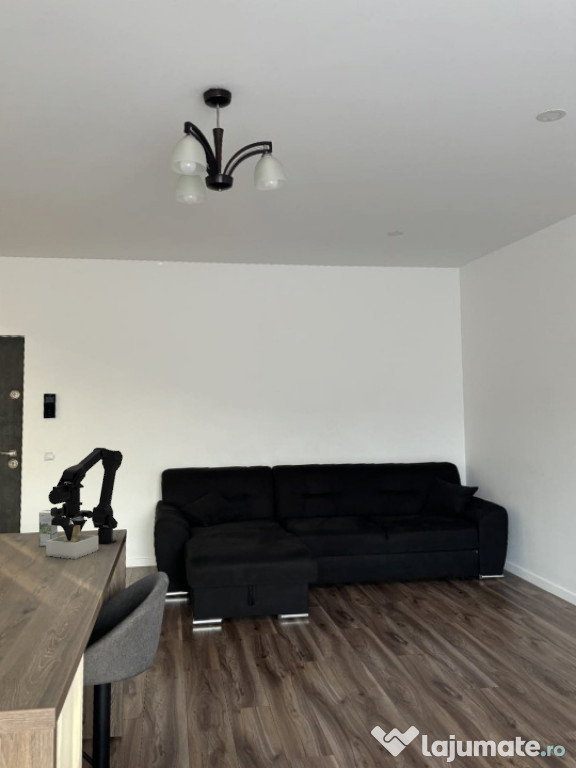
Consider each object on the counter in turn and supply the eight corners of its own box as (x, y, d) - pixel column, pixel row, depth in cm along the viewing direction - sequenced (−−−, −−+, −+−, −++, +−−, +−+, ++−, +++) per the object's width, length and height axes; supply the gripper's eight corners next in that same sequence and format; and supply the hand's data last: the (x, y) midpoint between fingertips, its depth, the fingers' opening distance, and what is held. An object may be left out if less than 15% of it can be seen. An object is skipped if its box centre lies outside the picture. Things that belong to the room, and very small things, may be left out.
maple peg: (72, 544, 254) (71, 524, 255) (80, 545, 253) (80, 525, 253) (65, 546, 251) (65, 526, 251) (73, 547, 249) (73, 527, 249)
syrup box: (58, 543, 269) (58, 509, 269) (51, 546, 263) (51, 512, 263) (45, 543, 269) (45, 509, 269) (38, 546, 263) (38, 511, 263)
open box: (70, 547, 261) (70, 533, 261) (98, 550, 256) (98, 535, 256) (46, 556, 248) (46, 540, 248) (75, 559, 243) (75, 543, 243)
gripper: (71, 495, 264) (71, 533, 264) (39, 503, 246) (39, 543, 246) (93, 497, 260) (93, 535, 260) (63, 504, 242) (63, 545, 242)
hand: (72, 539), depth 252 cm, fingers closed on maple peg, 4 cm apart
